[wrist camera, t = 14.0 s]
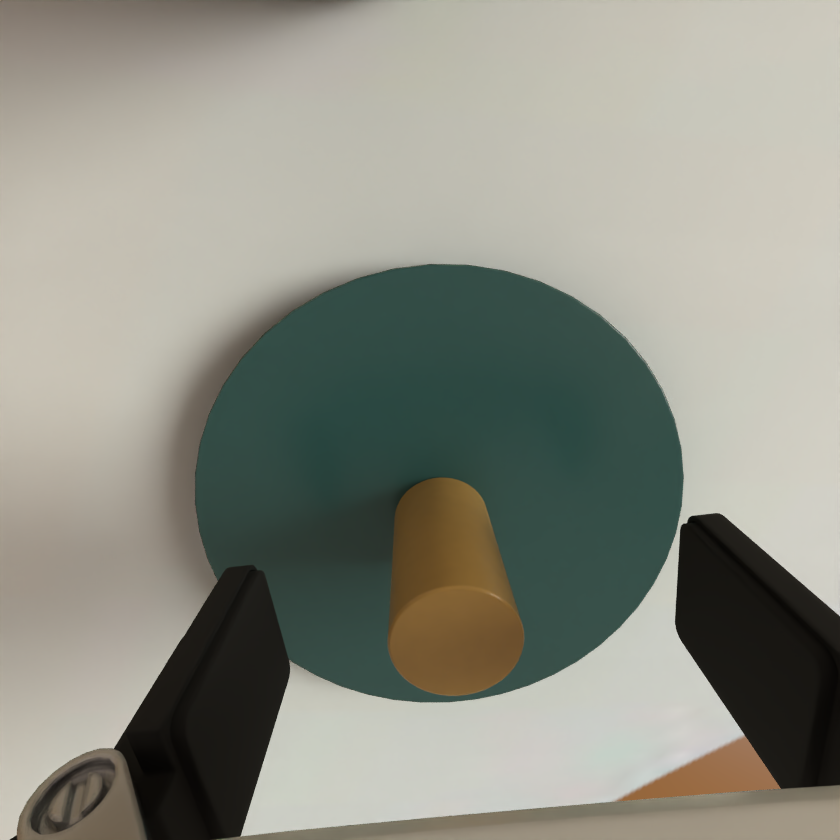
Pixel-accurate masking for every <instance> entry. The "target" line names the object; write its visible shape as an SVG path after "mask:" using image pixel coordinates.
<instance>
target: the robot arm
mask: <svg viewBox="0 0 840 840" xmlns="http://www.w3.org/2000/svg"><path fill="white" fill-rule="evenodd" d="M675 625H676V630H677V633H678V635H679V638H680V639H681V641H682V643H683V644H684V646H685V647H686V649H687V650H688V652H689V653H690V654H691V656H692V657H693V659H694V660H695V662H696V663H697V665H698V666H699V668H700V669H701V671H702V672H703V674H704V675H705V677H706V678H707V680H708V681H709V683H710V684H711V686H712V687H713V689H714V690H715V692H716V693H717V695H718V696H719V697H720V699H721V700H722V702H723V703H724V705H725V706H726V708H727V709H728V711H729V712H730V714H731V715H732V717H733V718H734V720H735V721H736V723H737V724H738V726H739V727H740V729H741V730H742V732H743V733H744V735H745V736H746V737H747V739H748V740H749V742H750V743H751V745H752V746H753V748H754V749H755V751H756V752H757V754H758V755H759V757H760V758H761V760H762V761H763V763H764V764H765V766H766V767H767V768H768V770H769V772H770V773H771V775H772V776H773V778H774V779H775V780H776V782H777V783H778V785H779V786H780V788H781V789H773V790H756V791H742V792H730V793H718V794H705V795H693V796H680V797H669V798H656V799H643V800H631V801H619V802H606V803H595V804H583V805H571V806H560V807H548V808H537V809H525V810H513V811H502V812H491V813H479V814H468V815H457V816H445V817H434V818H423V819H413V820H402V821H391V822H381V823H370V824H359V825H348V826H338V827H327V828H316V829H306V830H295V831H286V832H277V833H268V834H259V835H251V836H242V837H240V836H241V833H242V829H243V826H244V823H245V820H246V816H247V813H248V810H249V807H250V803H251V800H252V797H253V794H254V790H255V787H256V784H257V781H258V777H259V774H260V771H261V768H262V764H263V761H264V758H265V755H266V751H267V748H268V745H269V742H270V738H271V735H272V732H273V729H274V725H275V722H276V719H277V715H278V712H279V709H280V706H281V702H282V699H283V696H284V693H285V689H286V686H287V683H288V679H289V674H290V663H289V659H288V655H287V651H286V648H285V644H284V641H283V637H282V633H281V630H280V626H279V623H278V619H277V615H276V612H275V608H274V605H273V601H272V597H271V594H270V590H269V587H268V583H267V580H266V576H265V573H264V572H263V571H262V570H258V571H257V568H256V567H255V566H254V565H244V566H235V567H228V568H226V569H225V571H224V572H223V574H222V575H221V577H220V579H219V580H218V582H217V584H216V585H215V587H214V588H213V590H212V592H211V593H210V595H209V597H208V598H207V600H206V601H205V603H204V605H203V606H202V608H201V610H200V611H199V613H198V614H197V616H196V618H195V619H194V621H193V623H192V624H191V626H190V627H189V629H188V631H187V632H186V634H185V636H184V637H183V638H182V639H181V641H180V642H179V644H178V645H177V647H176V649H175V650H174V652H173V654H172V655H171V657H170V658H169V660H168V662H167V663H166V665H165V667H164V668H163V670H162V671H161V673H160V675H159V676H158V678H157V680H156V681H155V683H154V684H153V686H152V688H151V689H150V691H149V692H148V694H147V696H146V697H145V699H144V701H143V702H142V704H141V705H140V707H139V709H138V710H137V712H136V714H135V715H134V717H133V718H132V720H131V722H130V723H129V725H128V727H127V728H126V730H125V731H124V733H123V735H122V736H121V738H120V740H119V741H118V743H117V744H116V746H115V748H114V749H113V748H102V749H97V750H93V751H90V752H86V753H84V754H82V755H80V756H78V757H76V758H74V759H72V760H70V761H69V762H67V763H66V764H65V765H63V766H62V767H60V768H59V769H57V770H56V771H55V772H53V773H52V774H51V775H50V776H49V777H48V778H47V779H46V780H45V781H44V782H43V783H42V784H41V785H40V786H39V787H38V788H37V790H36V791H35V792H34V793H33V795H32V796H31V797H30V798H29V800H28V801H27V803H26V805H25V807H24V809H23V811H22V813H21V815H20V817H19V822H18V827H17V835H16V836H15V837H13V838H12V839H10V840H840V616H839V615H838V614H836V613H835V612H834V611H833V610H832V609H831V608H829V607H828V606H827V605H826V604H825V603H824V602H823V601H821V600H820V599H819V598H818V597H817V596H816V595H814V594H813V593H812V592H811V591H810V590H809V589H807V588H806V587H805V586H804V585H803V584H802V583H801V582H799V581H798V580H797V579H796V578H795V577H794V576H792V575H791V574H790V573H789V572H788V571H787V570H786V569H784V568H783V567H782V566H781V565H780V564H779V563H777V562H776V561H775V560H774V559H773V558H772V557H770V556H769V555H768V554H767V553H766V552H765V551H764V550H762V549H761V548H760V547H759V546H758V545H757V544H755V543H754V542H753V541H752V540H751V539H750V538H749V537H747V536H746V535H745V534H744V533H743V532H742V531H740V530H739V529H738V528H737V527H736V526H735V525H734V524H732V523H731V522H730V521H729V520H728V519H727V518H725V517H724V516H723V515H721V514H718V513H715V514H706V515H697V516H691V517H689V519H688V522H687V523H686V524H683V525H682V526H681V529H680V545H679V562H678V580H677V598H676V615H675Z"/></svg>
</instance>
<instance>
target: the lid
mask: <svg viewBox="0 0 840 840" xmlns="http://www.w3.org/2000/svg"><path fill="white" fill-rule="evenodd" d="M683 479H684V476H683V463H682V451H681V445H680V441H679V436H678V432H677V428H676V424H675V419H674V417H673V414H672V412H671V409H670V407H669V404H668V402H667V399H666V397H665V394H664V392H663V390H662V388H661V386H660V385H659V383H658V381H657V379H656V378H655V376H654V374H653V373H652V371H651V369H650V368H649V366H648V364H647V363H646V362H645V360H644V359H643V358H642V357H641V356H640V354H639V353H638V352H637V351H636V349H635V348H634V347H633V346H632V345H631V343H630V342H629V341H628V340H627V339H626V337H624V336H623V335H622V334H621V333H620V332H619V331H618V330H617V329H615V328H614V327H613V326H612V325H611V324H610V323H609V322H608V321H607V320H605V319H604V318H603V317H602V316H601V315H599V314H598V313H596V312H595V311H593V310H592V309H590V308H589V307H587V306H586V305H584V304H583V303H581V302H580V301H578V300H577V299H575V298H574V297H572V296H570V295H568V294H566V293H564V292H562V291H559V290H557V289H555V288H553V287H551V286H549V285H547V284H544V283H542V282H540V281H537V280H534V279H530V278H527V277H524V276H521V275H517V274H514V273H511V272H508V271H503V270H497V269H491V268H484V267H478V266H472V265H450V264H427V265H419V266H411V267H402V268H394V269H390V270H387V271H383V272H379V273H375V274H371V275H368V276H364V277H360V278H357V279H355V280H352V281H350V282H348V283H345V284H343V285H340V286H338V287H336V288H333V289H331V290H328V291H326V292H324V293H322V294H320V295H319V296H317V297H315V298H314V299H312V300H310V301H308V302H307V303H305V304H303V305H302V306H300V307H298V308H297V309H295V310H293V311H292V312H291V313H289V314H288V315H287V316H286V317H284V318H283V319H282V320H281V321H279V322H278V323H277V324H276V325H274V326H273V327H272V328H271V329H269V330H268V331H267V332H266V333H265V334H264V335H263V336H262V337H261V338H260V339H259V340H258V341H257V342H256V343H255V344H254V345H253V347H252V348H251V349H250V350H249V351H248V352H247V353H246V354H245V355H244V356H243V357H242V359H241V360H240V361H239V363H238V364H237V366H236V367H235V369H234V370H233V372H232V373H231V375H230V376H229V377H228V379H227V380H226V382H225V383H224V385H223V386H222V389H221V391H220V393H219V395H218V397H217V399H216V401H215V403H214V405H213V407H212V409H211V411H210V413H209V416H208V419H207V422H206V426H205V429H204V432H203V435H202V438H201V442H200V446H199V452H198V459H197V466H196V472H195V505H196V512H197V518H198V525H199V532H200V535H201V538H202V542H203V545H204V548H205V552H206V555H207V558H208V561H209V563H210V565H211V567H212V569H213V571H214V574H215V576H216V578H217V580H219V579H220V577H221V575H222V574H223V572H224V571H225V569H226V568H228V567H235V566H244V565H254V566H255V567H256V568H257V571H258V570H262V571H263V572H264V573H265V576H266V580H267V583H268V587H269V590H270V594H271V597H272V601H273V605H274V608H275V612H276V615H277V619H278V623H279V626H280V630H281V633H282V637H283V641H284V644H285V648H286V651H287V655H288V659H289V660H291V661H292V662H293V663H295V664H297V665H299V666H300V667H302V668H304V669H306V670H307V671H309V672H311V673H313V674H314V675H316V676H318V677H321V678H323V679H325V680H328V681H330V682H332V683H335V684H337V685H339V686H342V687H345V688H348V689H351V690H355V691H358V692H361V693H364V694H368V695H373V696H378V697H383V698H388V699H393V700H402V701H412V702H455V701H465V700H474V699H480V698H484V697H489V696H494V695H499V694H503V693H506V692H509V691H513V690H516V689H519V688H522V687H525V686H528V685H531V684H533V683H535V682H538V681H540V680H542V679H545V678H547V677H549V676H552V675H554V674H556V673H557V672H559V671H561V670H563V669H564V668H566V667H568V666H570V665H572V664H573V663H575V662H577V661H578V660H580V659H581V658H583V657H584V656H585V655H587V654H588V653H590V652H591V651H592V650H594V649H595V648H597V647H598V646H599V645H601V644H602V643H603V642H604V641H605V640H606V639H607V638H608V637H609V636H611V635H612V634H613V633H614V632H615V631H616V630H617V629H618V628H620V626H621V625H622V624H623V623H624V622H625V621H626V620H627V619H628V617H629V616H630V615H631V614H632V613H633V612H634V611H635V610H636V608H637V607H638V606H639V605H640V603H641V602H642V600H643V599H644V597H645V596H646V594H647V593H648V591H649V590H650V589H651V587H652V586H653V584H654V582H655V580H656V579H657V577H658V575H659V573H660V571H661V569H662V567H663V565H664V563H665V561H666V559H667V556H668V554H669V551H670V548H671V545H672V543H673V540H674V537H675V534H676V530H677V526H678V521H679V516H680V511H681V507H682V494H683Z"/></svg>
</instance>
